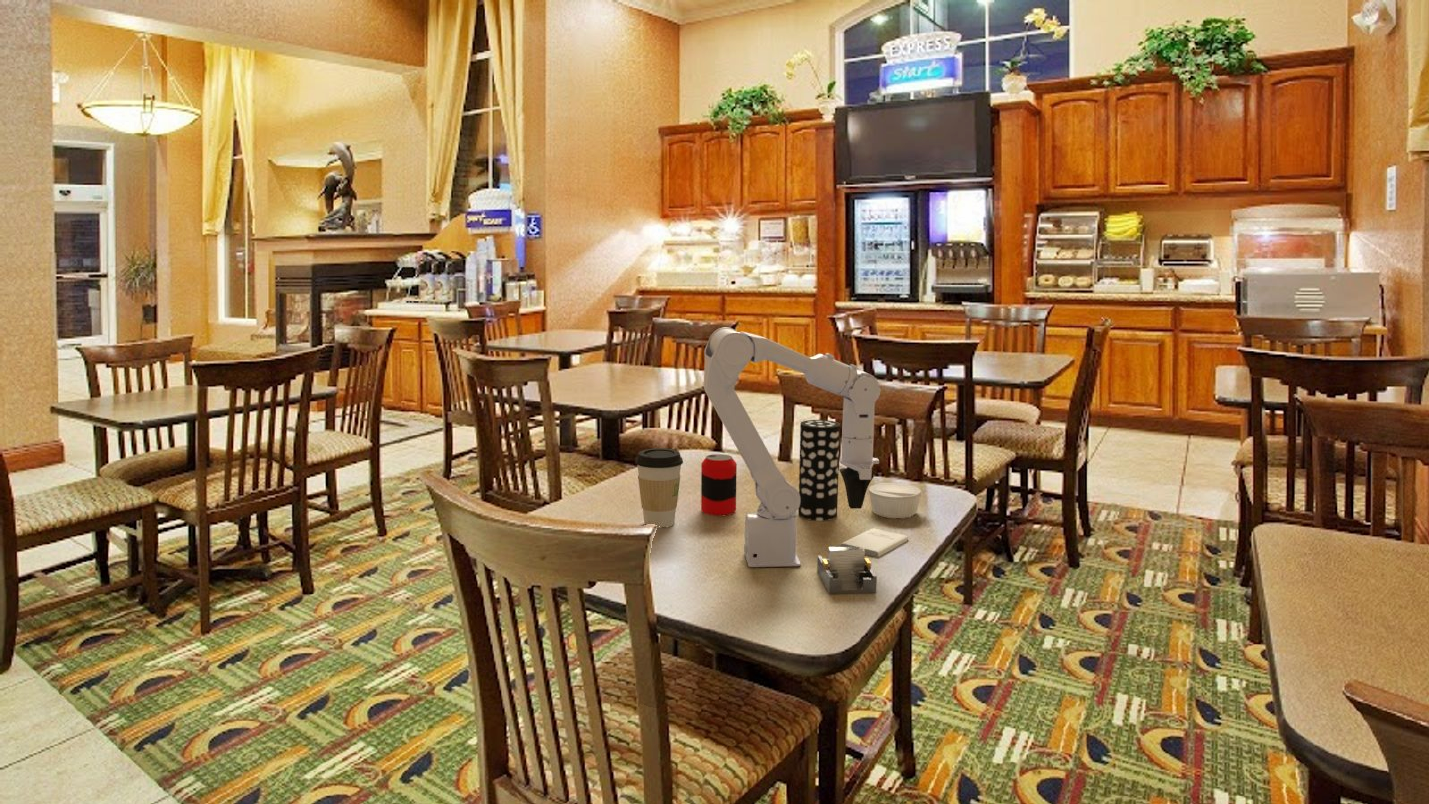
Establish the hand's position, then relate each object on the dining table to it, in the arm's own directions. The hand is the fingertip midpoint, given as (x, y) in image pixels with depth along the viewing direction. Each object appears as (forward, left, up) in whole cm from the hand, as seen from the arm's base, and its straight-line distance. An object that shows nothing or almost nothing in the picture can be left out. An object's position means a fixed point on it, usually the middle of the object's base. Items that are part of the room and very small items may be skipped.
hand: (855, 507), depth 169 cm
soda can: (-23, +29, -10) cm, 39 cm away
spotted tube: (-2, +25, -10) cm, 27 cm away
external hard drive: (+6, +6, -10) cm, 13 cm away
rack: (-4, -13, -9) cm, 17 cm away
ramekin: (+15, +26, -10) cm, 32 cm away
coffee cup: (-36, +21, -10) cm, 43 cm away
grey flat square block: (-5, -13, -9) cm, 16 cm away
